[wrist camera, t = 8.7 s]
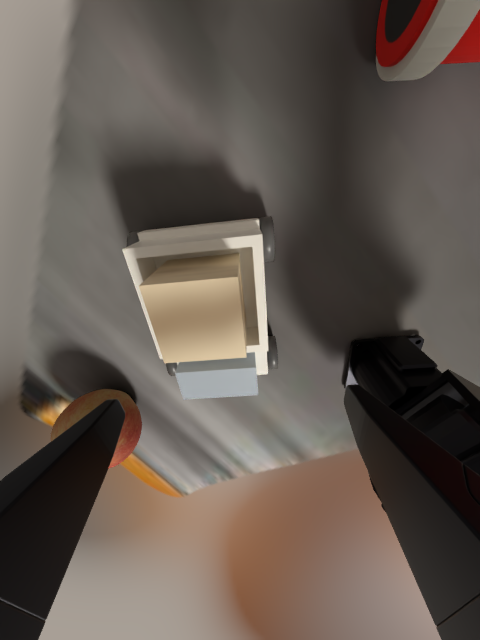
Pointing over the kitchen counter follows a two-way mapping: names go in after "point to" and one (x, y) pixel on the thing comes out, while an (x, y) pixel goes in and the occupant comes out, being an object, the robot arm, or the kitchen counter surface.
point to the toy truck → (254, 249)
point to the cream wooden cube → (197, 308)
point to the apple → (90, 402)
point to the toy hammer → (425, 36)
